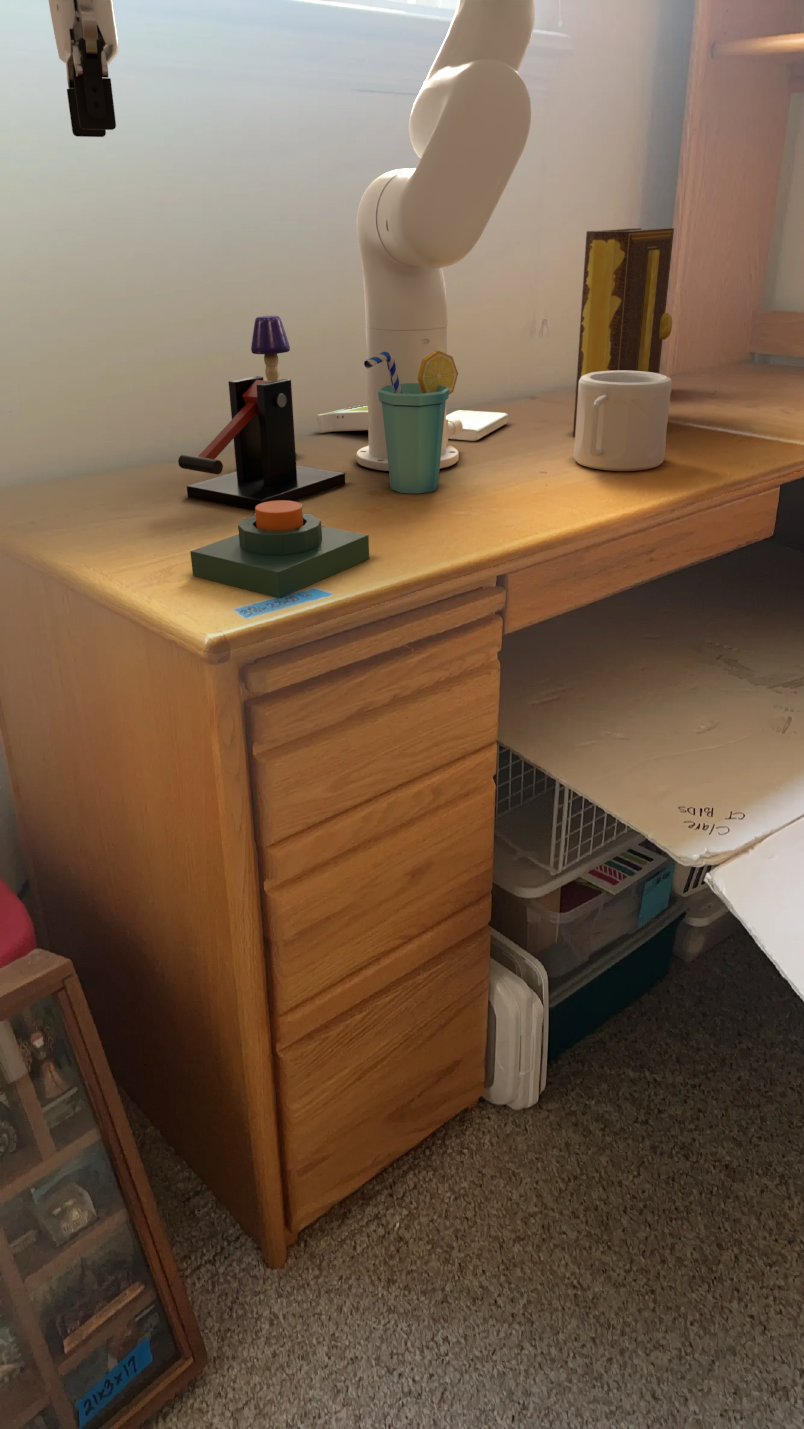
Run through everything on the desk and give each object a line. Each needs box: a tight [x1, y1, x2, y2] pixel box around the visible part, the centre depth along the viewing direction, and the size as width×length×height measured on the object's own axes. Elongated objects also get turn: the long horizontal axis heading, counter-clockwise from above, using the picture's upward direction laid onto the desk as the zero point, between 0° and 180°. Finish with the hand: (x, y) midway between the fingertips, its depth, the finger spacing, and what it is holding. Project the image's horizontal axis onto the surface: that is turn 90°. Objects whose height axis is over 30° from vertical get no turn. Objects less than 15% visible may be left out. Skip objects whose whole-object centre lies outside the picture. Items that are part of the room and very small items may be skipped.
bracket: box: [186, 375, 346, 512], centre depth 107 cm, size 14×11×12 cm
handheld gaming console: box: [316, 406, 368, 434], centre depth 137 cm, size 11×3×15 cm
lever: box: [177, 380, 271, 476], centre depth 103 cm, size 13×5×2 cm, turn 145°
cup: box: [363, 351, 459, 495], centre depth 106 cm, size 14×8×15 cm, turn 143°
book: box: [572, 227, 675, 437], centre depth 135 cm, size 22×8×25 cm, turn 151°
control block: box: [189, 512, 370, 599], centre depth 85 cm, size 12×10×4 cm
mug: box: [573, 370, 673, 472], centre depth 116 cm, size 14×11×10 cm
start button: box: [254, 500, 304, 530], centre depth 84 cm, size 4×4×2 cm
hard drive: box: [446, 409, 509, 442], centre depth 138 cm, size 2×8×12 cm
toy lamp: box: [250, 315, 297, 458], centre depth 120 cm, size 5×5×17 cm
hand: (93, 132), depth 95 cm, fingers open, 9 cm apart
